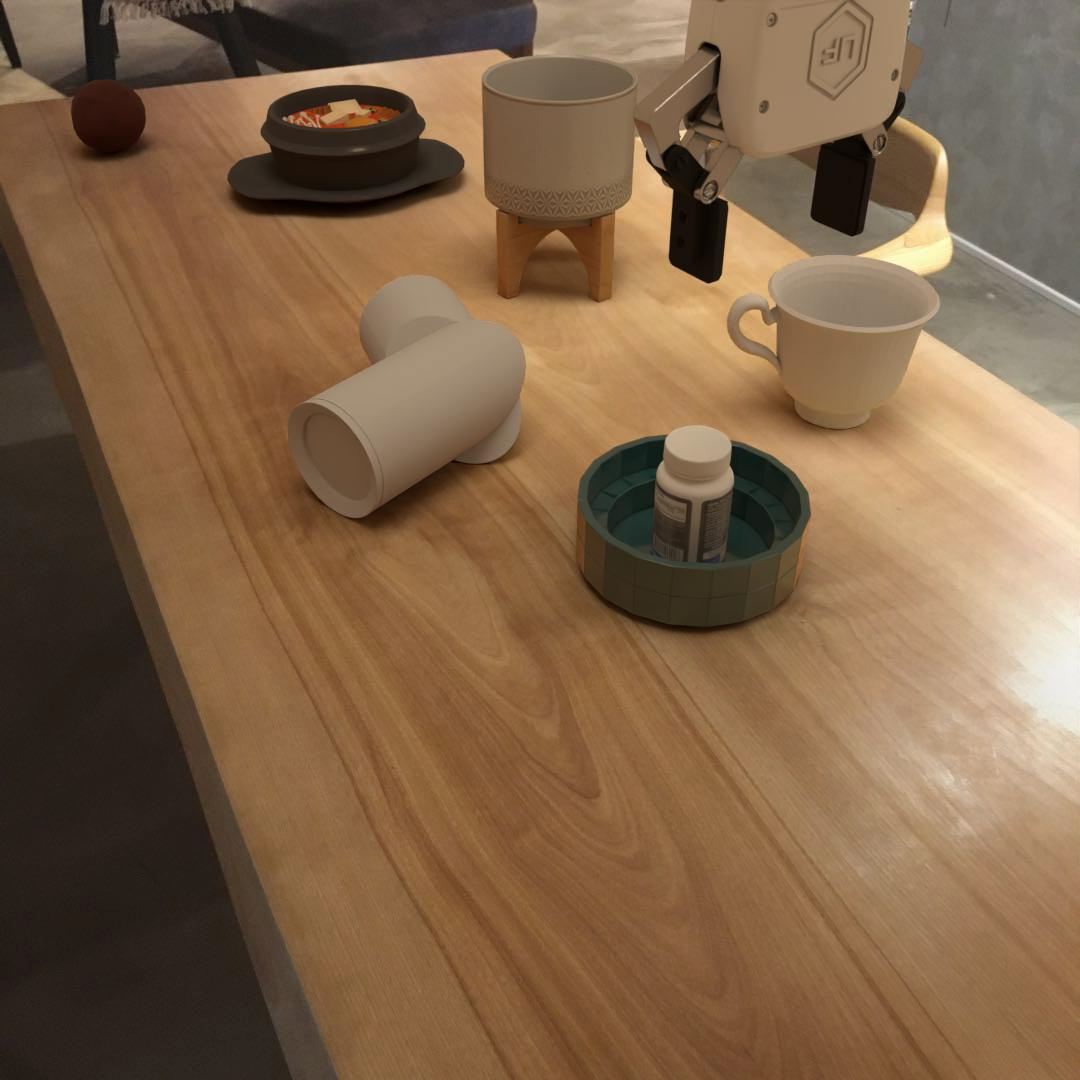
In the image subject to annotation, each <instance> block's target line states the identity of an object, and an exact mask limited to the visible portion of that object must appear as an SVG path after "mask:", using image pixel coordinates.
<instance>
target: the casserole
mask: <svg viewBox="0 0 1080 1080" xmlns="http://www.w3.org/2000/svg"><path fill="white" fill-rule="evenodd" d="M426 125H427V123H426V120H425V118H424V117H423V116H422V115H421V114H419V111H418V109H417V107H416V104H415V102H414V100H413V99H412V98H411V97H410V96H409V95H407V94H405V93H404V92H401V91H398V90H396V89H392V88H388V87H383V86H375V85H367V84H335V85H323V86H315V87H310V88H305V89H301V90H296V91H294V92H290V93H288V94H285V95H283V96H281V97H279V98H277V99H276V100H274V101H272V103H271V104H269V107H268V109H267V113H266V118H265V121H264V122H263V123H262V125H261V128H260V130H259V131H260V136H261V137H262V139H263V140H264V142H266V143H267V144H268V145H269V149H270V151H269V152H265V153H261V154H255V155H252V156H248V157H243V158H242V159H239V160H238V161H237V162H235V163H234V165H232V166H231V167H230V169H229V170H228V173H227V182H228V184H229V186H230V188H232V189H233V190H235V191H236V192H237V193H238V194H241V195H243V196H245V197H247V198H251V199H255V200H272V201H274V200H275V201H277V200H279V201H280V200H281V201H282V200H285V201H286V200H289V201H290V200H291V201H305V202H317V203H324V204H335V205H339V204H340V205H344V204H345V205H347V204H348V205H349V204H359V203H361V204H362V203H367V202H373V201H377V200H381V199H384V198H388V197H392V196H397V195H399V194H403V193H405V192H407V191H411V190H414V189H416V188H418V187H421V186H424V185H428V184H434V183H438V182H442V181H446V180H448V179H452V178H453V177H456V176H457V175H459V174H461V173H462V171H463V170H464V168H465V161H466V160H465V159H464V158H465V157H464V156H463V154H462V153H461V152H459V151H458V150H457V149H456V148H454V146H451V145H449V144H447V143H446V142H443V141H441V140H438V139H435V138H434V139H433V138H423V137H421V135H422V134H423V133H424V131H425V130H426Z"/></svg>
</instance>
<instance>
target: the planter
mask: <svg viewBox="0 0 1080 1080" xmlns="http://www.w3.org/2000/svg"><path fill="white" fill-rule="evenodd" d="M480 79H481V111H482V112H481V113H482V114H481V115H482V147H483V148H482V150H483V151H482V152H483V153H482V155H483V180H484V181H483V189H484V197H485V198H486V200H487V201H488V202H489V203H490V204H491V205H492V206H494V207H495V208H497V209H496V210H495V224H496V225H495V227H496V229H495V231H496V276H497V279H496V282H497V294H499V295H500V296H502V297H504V298H506V299H508V300H509V299H512V298H514V297H516V296H519V295H520V284H521V279H522V275H523V272H524V270H525V266H526V264H527V262H528V260H529V258H530V256H531V255H532V254H533V251H535V249H536V247H537V246H538V245H539V244H540V243H541V242H542V241H543V240H544V239H545V238H546V237H547V236H549V235H550V234H551V233H553V232H555V231H558V232H559V233H562V235H564V236H565V237H566V238H567V239H568V240H569V241H570V242H571V244H572V245H573V247H574V248H575V250H576V251H577V253H578V255H579V257H580V259H581V261H582V263H583V266H584V269H585V272H586V276H587V282H588V287H589V298H591V299H592V300H594V301H597V302H603V301H605V300H607V299H611V298H612V293H613V291H612V288H613V269H614V268H613V267H614V254H615V253H614V249H615V228H616V227H615V226H616V211H618V210H619V209H621V208H623V207H624V206H625V205H626V204H627V203H628V202H629V201H630V200H631V198H632V196H633V195H632V194H633V182H634V181H633V179H634V162H635V161H634V159H635V143H636V142H635V139H636V125H635V122H634V119H633V112H634V109H635V107H636V106H637V105H638V87H639V85H638V84H639V79H638V75H637V73H636V72H635V71H634V70H633V69H632V68H630V67H628V66H627V65H625V64H622V63H619V62H616V61H613V60H610V59H606V58H601V57H596V56H587V55H578V54H537V55H528V56H521V57H515V58H511V59H507V60H504V61H503V60H502V61H500V62H498V63H495V64H493V65H491V66H488V68H486V69H485V70H484V71H483V73H482V74H481V78H480Z"/></svg>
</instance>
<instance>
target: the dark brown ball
mask: <svg viewBox="0 0 1080 1080" xmlns="http://www.w3.org/2000/svg"><path fill="white" fill-rule="evenodd" d="M146 115H147V114H146V106H145V105H144V102H143V100H142V98H141V96H140V95H139V94H138V93H137V92H136V91H135V90H134V89H133V87H131V86H129V85H127V84H125V82H122V81H119V80H114V79H110V78H104V79H93V80H91V81H89V82H88V83H86V84H84V85H83V86H82V87H80V88H79V90H78V91H77V92H76V94H75V95H74V97H73V99H72V100H71V107H70V117H71V122H72V127H73V131H74V133H75V134H76V136H77V138H78V139H79V140H80V141H81V142H82V143H83V144H84V145H86V146H87V147H88V148H90V149H92V150H95V151H100V152H104V153H117V152H120V151H122V150H125V149H127V148H129V147H132V146H133V145H134V144H136V143H137V142H138V141H139V139H140V138H141V136H142V134H143V133H144V130H145V127H146V122H147V116H146Z"/></svg>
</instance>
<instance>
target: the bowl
mask: <svg viewBox="0 0 1080 1080" xmlns="http://www.w3.org/2000/svg"><path fill="white" fill-rule="evenodd" d="M668 435H669V433H666V434H657V435H649V436H648V435H647V436H644V437H640V438H637V439H634V440H630V441H627V442H625V443H622V444H619V445H616V446H614V447H613V448H611V449H609V450H608V451H606V452H605V453H603V454H601V455H600V456H598V457H597V458H595V459H594V460H592V462H591V464H590V465H589V466H588V467H587V469H586V470H585V471H584V473H583V474H582V476H581V477H580V479H579V484H578V491H577V499H576V531H575V557H576V559H577V562H578V564H579V568H580V570H581V572H582V575H583V577H584V578H585V579H586V581H587V582H588V583H589V584H590V585H591V586H592V587H593V588H594V589H595V590H596V591H597V592H598V593H599V594H600V595H601V596H602V597H603V598H604V599H605V600H607V601H609V602H611V603H612V604H614V605H616V606H618V607H619V608H621V609H623V610H625V611H627V612H628V613H630V614H632V615H635V616H638V617H642V618H646V619H649V620H652V621H655V622H659V623H663V624H665V625H675V626H687V627H699V628H700V627H701V628H710V627H715V626H716V627H717V626H724V625H730V624H731V625H732V624H737V623H742V622H744V621H747V620H750V619H751V618H755V617H756V616H759V615H761V614H765V613H766V612H768V611H771V610H774V608H775V607H776V606H778V605H779V604H781V602H783V600H784V599H786V597H788V596H789V595H790V594H791V593H792V592H793V591H794V589H795V586H796V584H797V582H798V579H799V577H800V575H801V572H802V569H803V563H804V557H805V554H806V553H805V551H806V546H807V541H808V535H809V529H810V526H811V525H810V524H811V518H812V509H811V503H810V495H809V494H810V493H809V492H808V491H809V490H807V487H805V486H804V484H803V483H802V481H801V479H800V478H799V476H798V475H797V474H796V472H795V471H793V470H792V469H791V468H789V467H788V466H786V465H785V464H784V463H783V462H781V461H780V460H779V459H778V458H776V457H775V456H774V455H772V454H769V453H768V452H765V451H763V450H760V449H758V448H756V447H754V446H751V445H749V444H747V443H745V442H741V441H737V440H734V439H733V440H732V439H730V441H731V446H732V447H731V460H730V465H729V466H730V467H731V469H732V471H733V474H734V487H733V495H732V503H731V512H730V520H729V528H728V537H727V545H726V553H725V557H724V559H723V561H722V562H720V563H697V562H682V561H673V560H669V559H665V558H661V557H658V556H654V555H653V552H652V531H653V514H654V498H655V484H656V473H657V469H658V467H659V465H660V463H661V462H662V461H663V453H664V445H665V439H666V437H667V436H668Z"/></svg>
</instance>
